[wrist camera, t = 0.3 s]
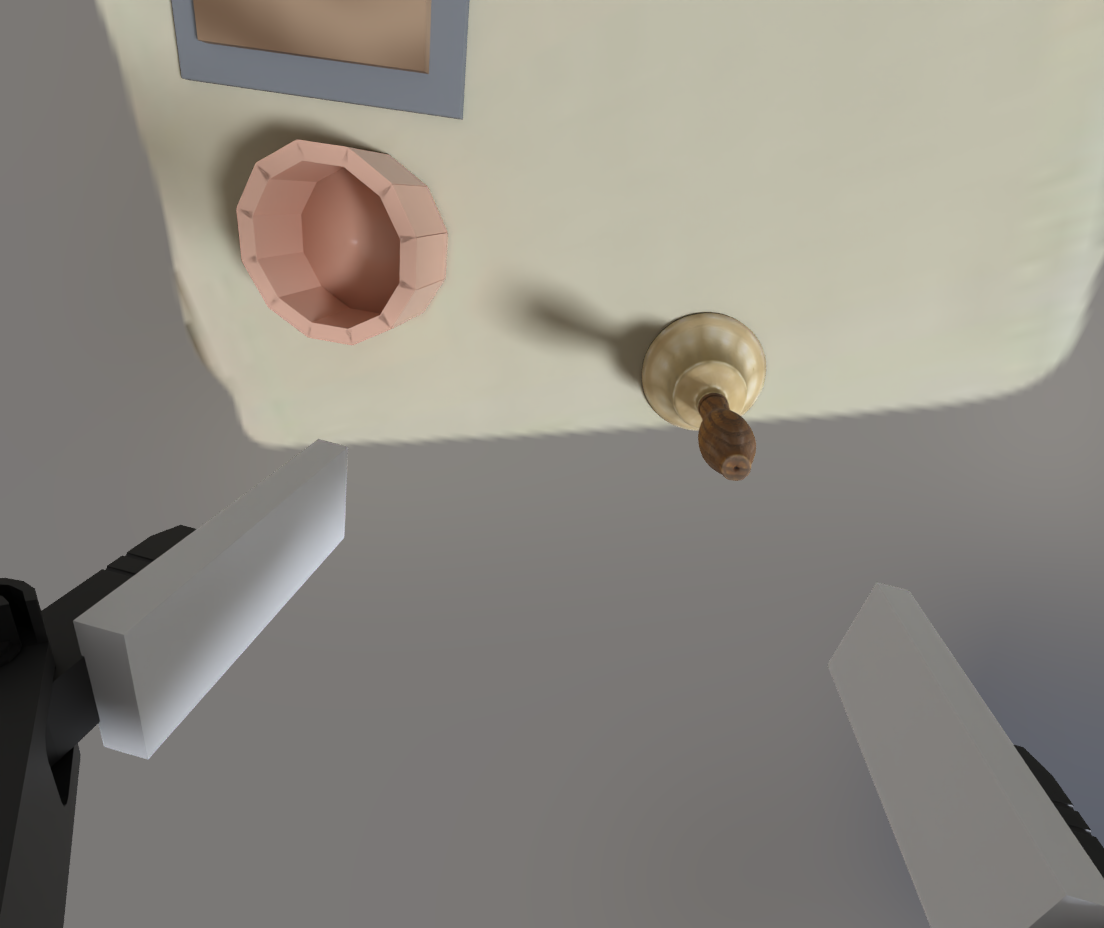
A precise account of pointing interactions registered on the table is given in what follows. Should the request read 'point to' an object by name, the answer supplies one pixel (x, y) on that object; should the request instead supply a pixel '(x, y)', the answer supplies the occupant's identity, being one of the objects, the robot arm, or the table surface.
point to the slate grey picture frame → (338, 68)
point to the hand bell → (708, 385)
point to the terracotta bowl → (340, 240)
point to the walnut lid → (323, 29)
